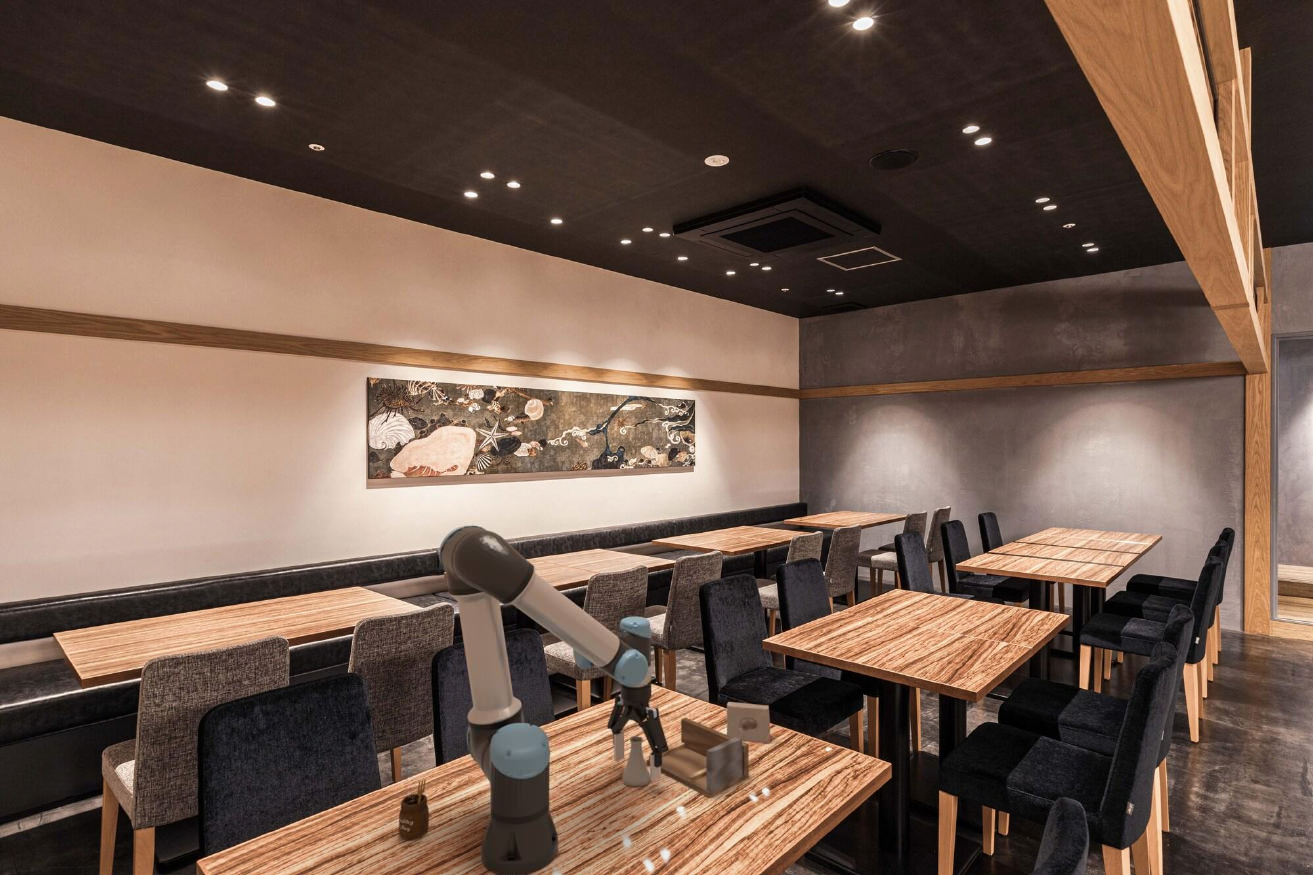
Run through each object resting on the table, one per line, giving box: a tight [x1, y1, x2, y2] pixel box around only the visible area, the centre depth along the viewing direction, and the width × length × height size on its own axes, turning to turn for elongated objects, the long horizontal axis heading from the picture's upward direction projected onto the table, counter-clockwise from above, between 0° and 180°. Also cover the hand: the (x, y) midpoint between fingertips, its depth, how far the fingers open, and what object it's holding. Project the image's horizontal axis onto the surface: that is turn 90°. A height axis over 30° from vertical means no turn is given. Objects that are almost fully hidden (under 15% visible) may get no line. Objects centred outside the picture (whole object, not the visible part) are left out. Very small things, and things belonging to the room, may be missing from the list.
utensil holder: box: [398, 776, 430, 841], centre depth 138 cm, size 6×6×12 cm
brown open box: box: [646, 717, 750, 799], centre depth 164 cm, size 14×22×10 cm, turn 42°
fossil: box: [726, 701, 772, 744], centre depth 183 cm, size 12×4×10 cm, turn 78°
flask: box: [621, 735, 651, 787], centre depth 160 cm, size 7×7×10 cm
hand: (636, 769), depth 160 cm, fingers open, 13 cm apart
